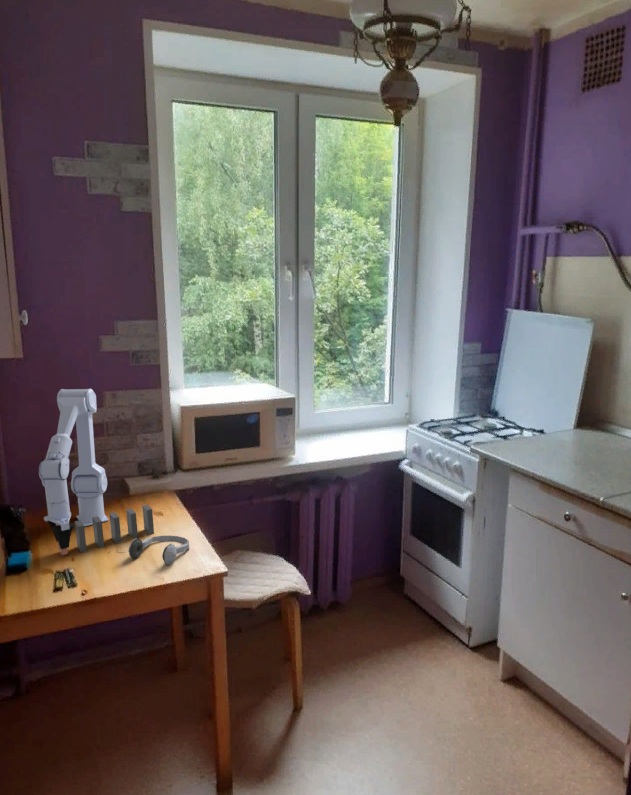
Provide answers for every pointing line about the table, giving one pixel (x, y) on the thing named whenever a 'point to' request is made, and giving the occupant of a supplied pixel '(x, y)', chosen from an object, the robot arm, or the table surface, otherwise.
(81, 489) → the robot arm
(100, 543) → the domino
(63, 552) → the domino
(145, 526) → the domino
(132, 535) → the domino
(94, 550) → the table surface
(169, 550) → the headphones
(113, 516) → the domino
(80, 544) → the domino
